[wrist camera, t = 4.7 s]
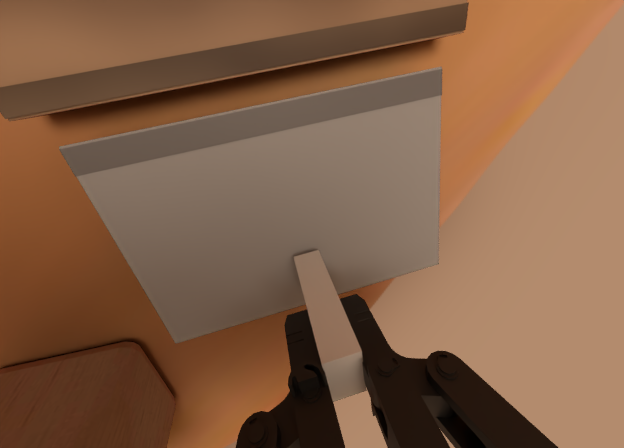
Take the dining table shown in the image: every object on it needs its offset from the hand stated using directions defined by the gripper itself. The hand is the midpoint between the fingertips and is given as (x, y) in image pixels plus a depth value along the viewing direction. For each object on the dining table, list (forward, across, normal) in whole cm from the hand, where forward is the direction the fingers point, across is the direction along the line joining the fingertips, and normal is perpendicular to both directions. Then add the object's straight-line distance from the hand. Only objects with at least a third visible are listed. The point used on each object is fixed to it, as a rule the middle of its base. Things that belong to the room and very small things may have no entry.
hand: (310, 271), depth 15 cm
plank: (+3, 0, +3) cm, 4 cm away
